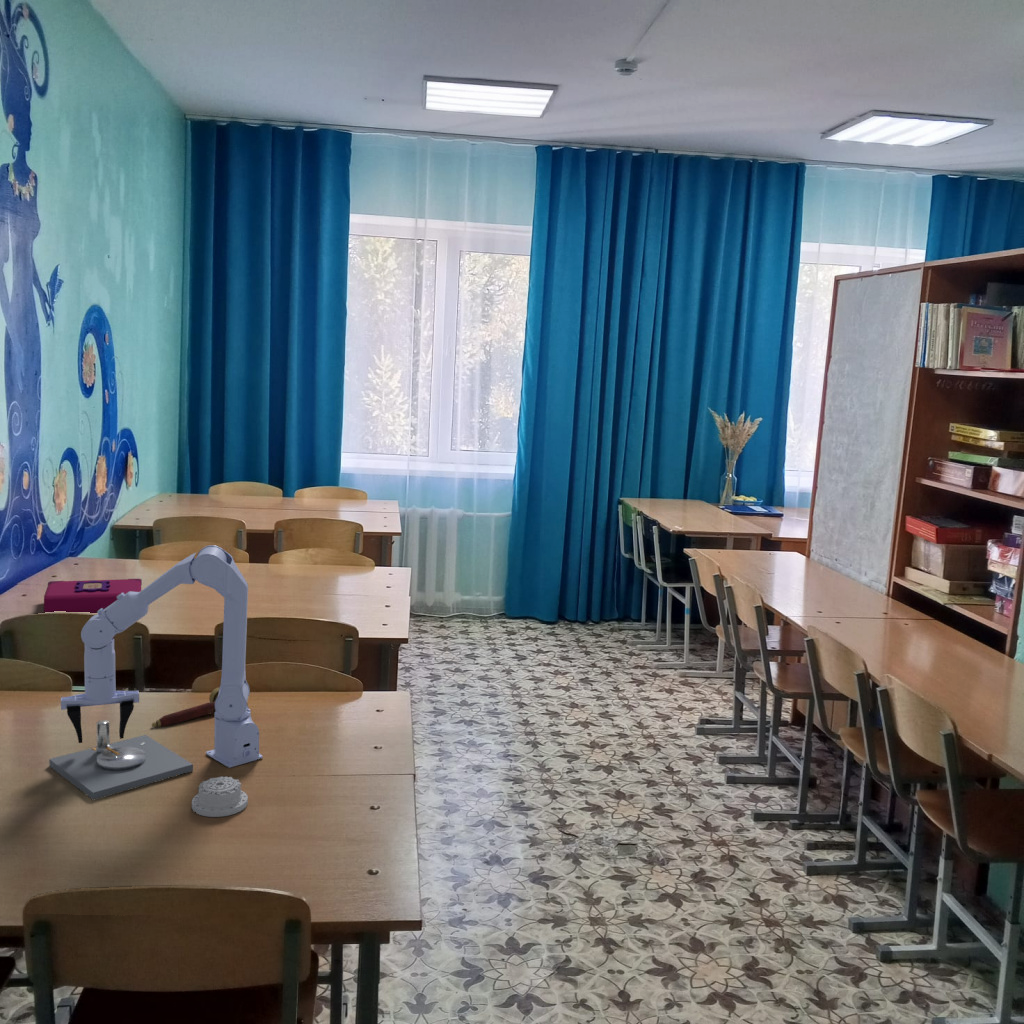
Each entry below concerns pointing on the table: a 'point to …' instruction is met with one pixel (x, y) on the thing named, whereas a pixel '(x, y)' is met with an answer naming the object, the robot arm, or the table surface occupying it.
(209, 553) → the robot arm
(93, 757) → the dial plate
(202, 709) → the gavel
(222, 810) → the mechanical component
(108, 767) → the dial
